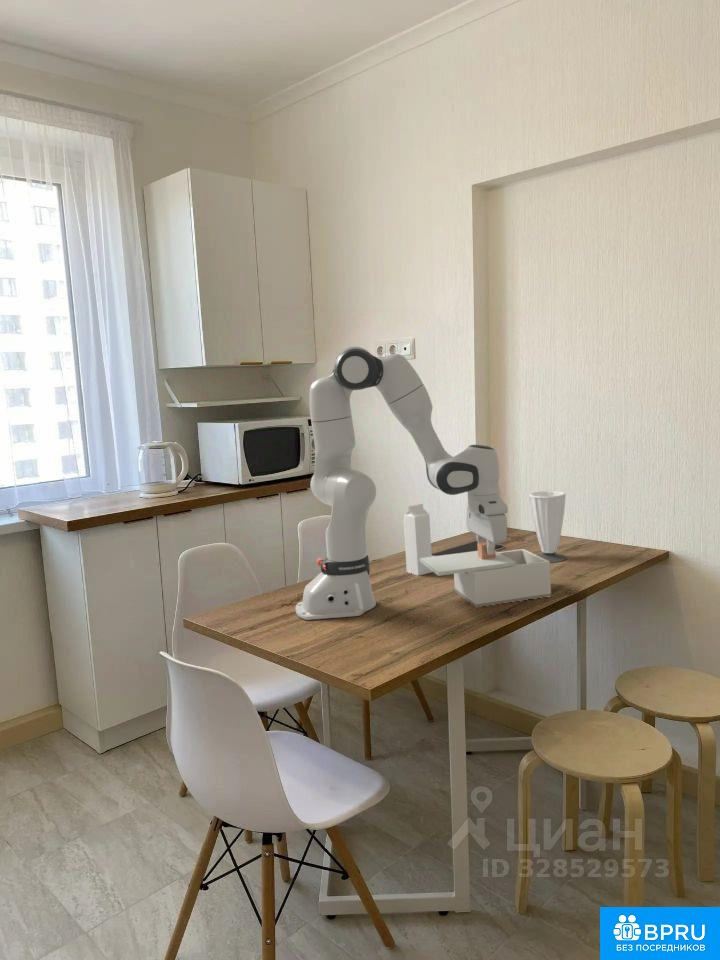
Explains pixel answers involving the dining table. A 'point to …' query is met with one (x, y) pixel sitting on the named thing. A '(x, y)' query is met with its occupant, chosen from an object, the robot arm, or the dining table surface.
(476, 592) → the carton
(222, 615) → the dining table surface
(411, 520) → the milk
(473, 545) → the smartphone
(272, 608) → the dining table surface
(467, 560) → the lid
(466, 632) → the dining table surface
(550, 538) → the cup
